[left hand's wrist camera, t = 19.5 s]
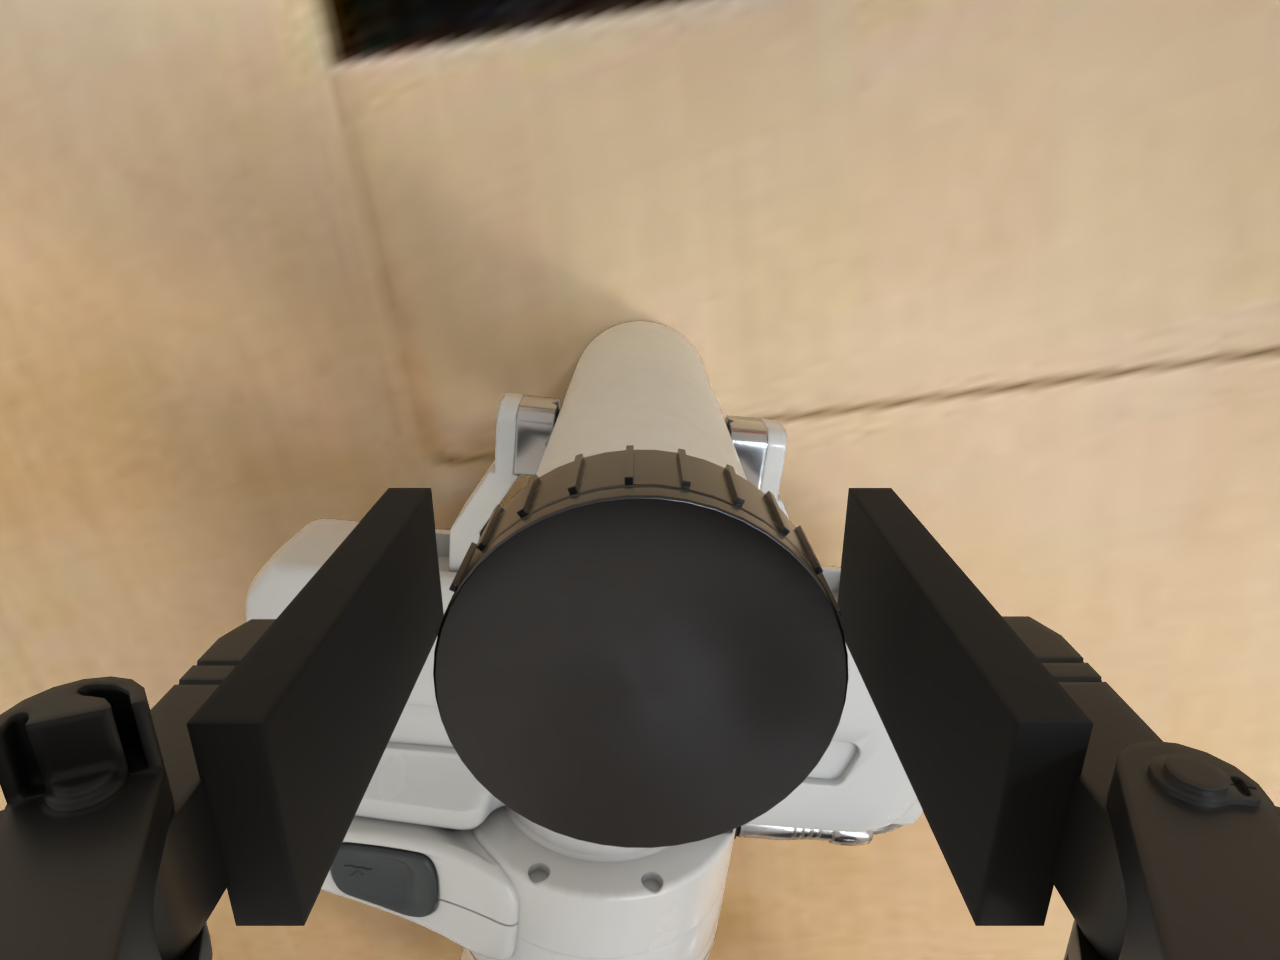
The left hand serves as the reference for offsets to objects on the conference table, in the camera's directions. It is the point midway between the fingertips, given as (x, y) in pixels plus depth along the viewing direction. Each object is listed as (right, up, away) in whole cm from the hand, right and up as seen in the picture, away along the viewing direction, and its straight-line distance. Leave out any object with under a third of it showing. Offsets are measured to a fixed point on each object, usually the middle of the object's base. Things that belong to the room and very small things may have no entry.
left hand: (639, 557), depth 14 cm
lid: (0, -1, -3) cm, 4 cm away
